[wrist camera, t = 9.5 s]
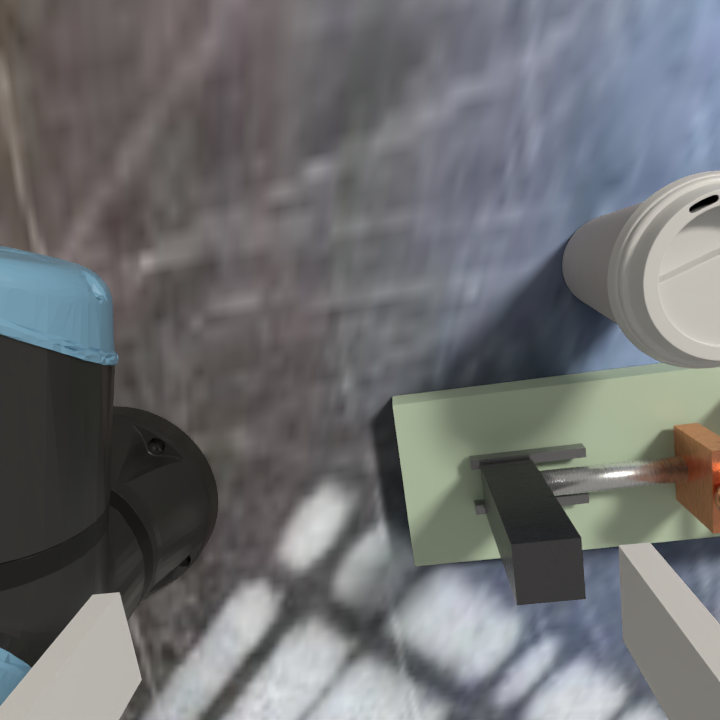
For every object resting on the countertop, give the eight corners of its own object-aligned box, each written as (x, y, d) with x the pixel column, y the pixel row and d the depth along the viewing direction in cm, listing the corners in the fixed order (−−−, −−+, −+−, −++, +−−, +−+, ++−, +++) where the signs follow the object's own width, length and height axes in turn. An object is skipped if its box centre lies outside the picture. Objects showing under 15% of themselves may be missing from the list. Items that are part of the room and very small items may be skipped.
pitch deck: (413, 549, 46) (414, 566, 43) (392, 396, 43) (392, 405, 41) (708, 519, 44) (726, 535, 42) (705, 357, 41) (724, 364, 39)
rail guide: (474, 509, 42) (476, 514, 41) (468, 456, 41) (470, 460, 40) (584, 497, 41) (589, 502, 40) (581, 443, 40) (585, 447, 39)
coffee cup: (679, 185, 39) (853, 154, 24) (676, 322, 41) (835, 370, 26) (538, 199, 40) (624, 176, 25) (541, 333, 42) (623, 386, 27)
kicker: (484, 519, 42) (518, 621, 31) (477, 448, 40) (509, 527, 29) (705, 496, 40) (823, 594, 29) (703, 422, 39) (826, 494, 28)
